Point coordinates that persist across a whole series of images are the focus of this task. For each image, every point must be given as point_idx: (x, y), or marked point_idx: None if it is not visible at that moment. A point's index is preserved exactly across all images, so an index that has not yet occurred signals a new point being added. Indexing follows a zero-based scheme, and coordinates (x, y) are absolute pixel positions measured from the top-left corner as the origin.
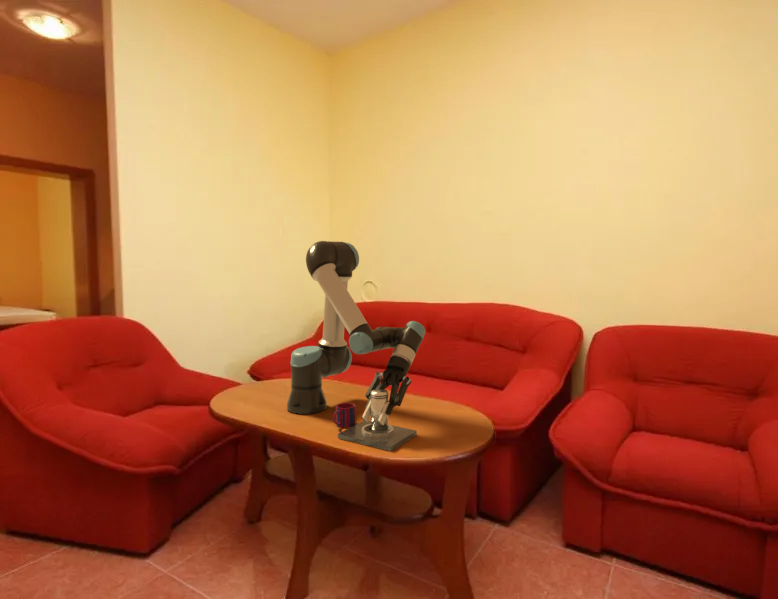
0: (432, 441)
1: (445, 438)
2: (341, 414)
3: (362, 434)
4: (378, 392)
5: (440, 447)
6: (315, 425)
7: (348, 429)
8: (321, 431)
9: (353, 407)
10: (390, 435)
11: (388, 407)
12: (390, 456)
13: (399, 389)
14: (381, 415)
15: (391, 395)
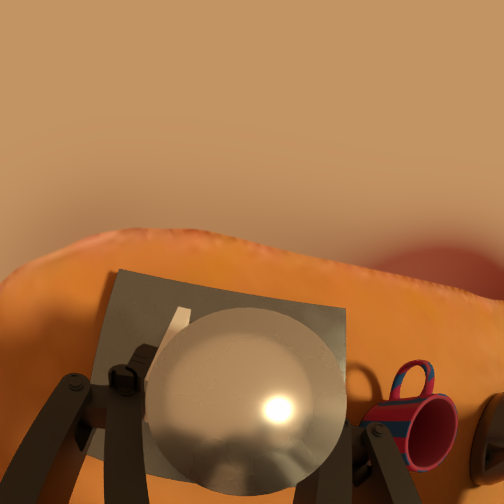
0: (27, 397)
1: (6, 428)
2: (413, 397)
3: None
4: (245, 370)
5: (2, 350)
6: (439, 368)
7: (341, 363)
8: (406, 340)
9: (403, 441)
10: None
11: (143, 371)
12: (117, 244)
13: (42, 475)
14: (176, 323)
15: (125, 437)
